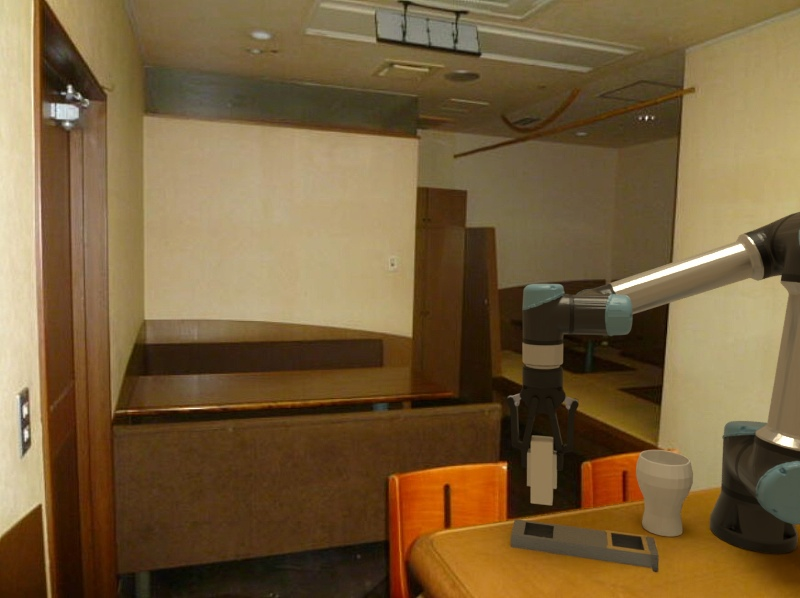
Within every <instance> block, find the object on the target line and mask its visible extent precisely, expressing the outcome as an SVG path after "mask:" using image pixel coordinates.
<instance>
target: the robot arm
mask: <svg viewBox="0 0 800 598" xmlns="http://www.w3.org/2000/svg"><path fill="white" fill-rule="evenodd" d="M779 276H780V281H779V282H780V284H781V285H782V286H783V287H784V288H785V290H786V291H787V293H788V297H787V303H786V309H785V316H784V321H783V328H782V333H781V338H780V339H781V340H780V345H779V351H778V356H777V363H776V368H775V376H774V382H773V386H772V392H771V398H770V405H769V412H768V417H767V422H764V421H753V420H751V421H750V420H733V421H729V422H727V423H725V426H724V429H723V435H722V436H721V437H722V438H721V439H722V459H721V462H722V463H721V486H720V488H721V489H720V494H719V495H718V498H717V499H716V502H715V504H714V506H713V508H712V511H711V513H710V515H709V516H710V517H709V529H710V531H711V532H712V533H713V534H714V535H715V536H716V537H717V538H719V539H720V540H723V541H725V542H726V543H729V544H730V545H734V546H736V547H738V548H741V549H745V550H749V551H753V552H758V553H765V554H775V555H777V554H786V553H787V554H788V553H790V552H791V553H792V552H793V551H795V550H796V549H797V548H798V540H799V539H798V538H799V534H798V531H797V527H796V525H799V526H800V211H798V212H794V213H791V214H789V215H786V216H784V217H781V218H779V219H777V220H775V221H772V222H770V223H768V224H765V225H763V226H761V227H759V228H755V229H753V230H750V231H747V232H744V233H741V234H739V235H738V237H737V239H736V241H734V242H731V243H728V244H725V245H721V246H718V247H716V248H712V249H709V250H706V251H704V252H703V251H702V252H701V253H698V254H694V255H691V256H688V257H685V258H682V259H680V260H676V261H673V262H670V263H667V264H664V265H660V266H658V267H655V268H652V269H649V270H645V271H643V272H639V273H636V274H634V275H630V276H627V277H625V278H621V279H617V280H616V281H612V282H609V283H607V284H603V285H601V286H597V287H594V288H590V289H589V288H587V289H583V290H581V291H579V292H577V293H576V294H569V293H565V289H564V285H562V284H560V283H532V284H528V285H526V286H525V287H524V288H523V293H522V294H523V295H522V310H521V311H522V313H521V314H522V316H521V317H522V355H521V356H522V363H523V364H524V365H523V366H522V369H521V371H522V377H521V378H522V379H521V380H522V382H521V383H522V387H521V389H520V392H519V393H516V394H514V395H513V394H509V395H508V396H507V398H506V402H507V405H508V408H509V410H510V412H509V413H510V414H509V415H510V434H511V435H510V436H511V437H510V438H511V447H512V448H514V449H518V450H519V451H520V452H521V453H520V454H521V456H520V458H521V459H520V461H521V462H520V463H521V468H525V469H526V487H531V448H529V445H530V442H531V437H532V432H533V431H532V430H533V426H534V423H535V418H536V415H539V414H544V415H548V420H549V422H550V429H551V432H552V437H553V444H554V446H555V450H553V479H552V489H553V490H557V488H558V485H557V484H558V471H560V472H561V471H563V469H564V455H565V454H566V453H567V454H568V453H573V450H574V440H575V439H574V438H575V435H574V433H575V418H576V417H575V416H576V411H577V410H578V407H579V406H580V405H579V399H578V398H572V397H569V396H568V395H566V392H565V391H564V368H563V366H561V365H563V363H564V335H571V336H572V335H589V336H591V335H592V336H593V335H594V336H608V337H613V336H624V335H629V333H630V332H631V330H632V326H633V315H634V314H638V313H641V312H645V311H647V310H651V309H654V308H657V307H661V306H663V305H664V306H665V305H668V304H670V303H674V302H676V301H681V300H683V299H687V298H690V297H694V296H695V295H699V294H702V293H706V292H709V291H712V290H716V289H720V288H722V287H726V286H728V285H732V284H735V283H737V282H742V281H744V280H748V279H752V280H755V281H757V282H759V281H762V280H766V279H768V278H773V277H779ZM521 400H522V402H523V404H524V405H525V406H526V407H527V409H528V410H529V411H528V416H527V420H526V424H525V428H524V433H523V438H522V440H520V429H519V427H520V425H519V406H520V404H521ZM563 402H564V403H565V408H566V409H567V428H566V429H567V430H566V443H564V444H563V440H562V435H561V430H560V426H559V421H558V416H557V415H558V414H557V410H558V409H559V407H560V406H561V405H562V404H563Z"/></svg>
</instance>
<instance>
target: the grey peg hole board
mask: <svg viewBox="0 0 800 598" xmlns="http://www.w3.org/2000/svg"><path fill="white" fill-rule="evenodd" d="M510 548H515V549H522V550H529V551H533V552H534V551H535V552H542V553H549V554H553V555H554V554H555V555H562V556H568V557H574V558H582V559H589V560H595V561H601V562H603V561H604V562H609V563H617V564H623V565H631V566H634V567H635V566H636V567H644V568H649V569H652V572H655V573H656V572H657V573H658V572H659V563H660V562H659V560H660V559H659V557H660V556H659V555H660V554H659V551H658V547H657V544H656V540H655V537H653V536H652V537H651V536H648V535H646V534H637V533H629V532H624V531H616V530H607V529H605V530H601V529H599V530H598V529H594V528H593V529H592V528H585V527H577V526H571V525H564V524H563V525H562V524H557V523H556V524H555V523H548V522H547V523H546V522H541V521H533V520H532V521H531V520H524V519H518V518H514V521H513V526H512V530H511V534H510Z"/></svg>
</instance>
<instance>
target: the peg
mask: <svg viewBox="0 0 800 598" xmlns="http://www.w3.org/2000/svg"><path fill="white" fill-rule="evenodd" d="M530 449H531V486H530V504H535V505H545V506H553V501H554V489H552V479H553V451H554V438H553V436H547V435H546V436H545V435H532V434H531V438H530Z"/></svg>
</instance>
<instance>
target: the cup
mask: <svg viewBox="0 0 800 598" xmlns="http://www.w3.org/2000/svg"><path fill="white" fill-rule="evenodd" d="M635 469H636V470H635V477H636V480H637V483H638V487H639V489H640V492H641V494H642V496H643V502H644V503H643V504H644V511H643V514H642V518H641V520H642V521H641V527H643V529H644V530H646V531H647V532H649V533H651V534H655V535H657V536H662V537H678V536H681V535H682V534H683V531H684V530H683V521H682V515H681V514H682V509H683V504H684V502H685V500H686V499H687V498H688V496H689V494H690V492H691V489H692V486H693V482H694V480H693V479H694V472H693V467H692V462H691V460H690V458H689V457H687V456H685V455H684V454H681V453H679V452H674V451H669V450H664V449H663V450H661V449H648V450H643V451H641V452H640V453H639V455H638V458H637V461H636V467H635Z"/></svg>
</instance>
